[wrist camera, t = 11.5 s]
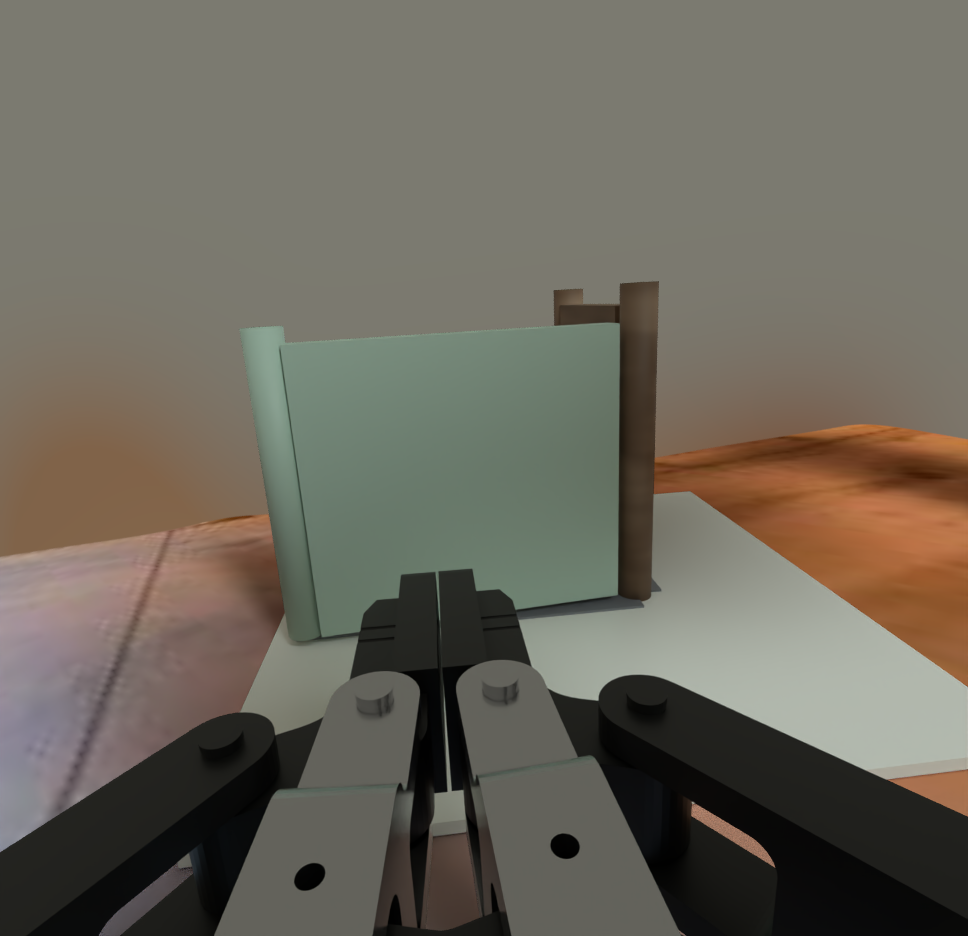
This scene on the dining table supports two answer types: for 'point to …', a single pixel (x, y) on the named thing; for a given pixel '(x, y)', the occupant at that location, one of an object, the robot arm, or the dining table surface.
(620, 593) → the fence fixed
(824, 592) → the card
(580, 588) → the fence gate
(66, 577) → the dining table surface
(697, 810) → the dining table surface
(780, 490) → the dining table surface
